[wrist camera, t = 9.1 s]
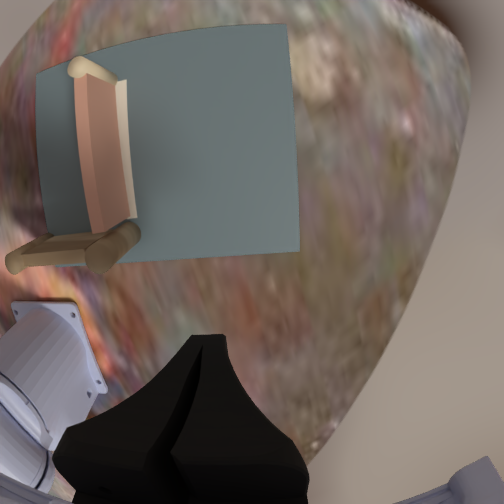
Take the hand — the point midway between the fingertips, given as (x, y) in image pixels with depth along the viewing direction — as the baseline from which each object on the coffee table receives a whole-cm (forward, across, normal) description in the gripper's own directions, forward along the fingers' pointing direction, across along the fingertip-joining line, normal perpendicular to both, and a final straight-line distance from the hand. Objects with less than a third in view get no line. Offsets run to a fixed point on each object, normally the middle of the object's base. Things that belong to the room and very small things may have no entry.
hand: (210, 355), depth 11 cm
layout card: (+9, +4, -8) cm, 13 cm away
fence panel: (+9, +6, -9) cm, 14 cm away
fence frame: (+9, +9, -3) cm, 13 cm away
